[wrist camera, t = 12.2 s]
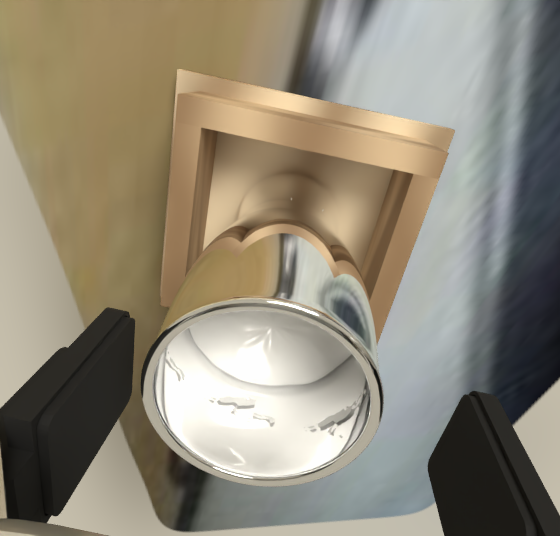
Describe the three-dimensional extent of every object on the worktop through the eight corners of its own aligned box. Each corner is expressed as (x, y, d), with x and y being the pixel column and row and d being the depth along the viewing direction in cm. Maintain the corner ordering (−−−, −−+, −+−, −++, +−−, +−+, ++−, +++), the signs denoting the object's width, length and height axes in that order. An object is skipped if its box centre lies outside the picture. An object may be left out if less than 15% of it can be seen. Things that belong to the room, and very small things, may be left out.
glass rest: (449, 128, 22) (483, 141, 18) (374, 333, 28) (386, 382, 24) (182, 69, 22) (149, 67, 18) (164, 289, 28) (136, 329, 24)
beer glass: (343, 276, 26) (377, 500, 12) (234, 272, 26) (150, 484, 13) (351, 165, 23) (410, 297, 9) (228, 163, 23) (110, 286, 10)
